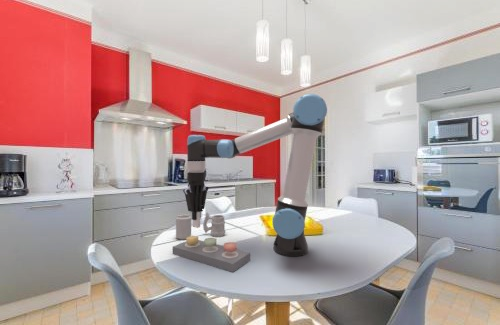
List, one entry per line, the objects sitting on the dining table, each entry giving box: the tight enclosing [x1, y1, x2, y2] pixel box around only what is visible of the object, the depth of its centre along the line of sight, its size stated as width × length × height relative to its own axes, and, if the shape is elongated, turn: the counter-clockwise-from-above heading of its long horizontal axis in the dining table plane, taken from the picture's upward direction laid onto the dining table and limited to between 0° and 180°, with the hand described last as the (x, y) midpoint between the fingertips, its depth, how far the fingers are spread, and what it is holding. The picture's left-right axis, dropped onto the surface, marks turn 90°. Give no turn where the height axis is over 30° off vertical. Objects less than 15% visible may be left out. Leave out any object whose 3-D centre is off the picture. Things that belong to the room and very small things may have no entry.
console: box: [172, 239, 251, 273], centre depth 97 cm, size 31×12×3 cm, turn 59°
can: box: [175, 212, 192, 241], centre depth 120 cm, size 8×8×12 cm
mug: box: [202, 211, 226, 238], centre depth 125 cm, size 8×12×12 cm, turn 91°
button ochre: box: [185, 235, 199, 245], centre depth 102 cm, size 5×5×2 cm
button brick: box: [223, 241, 238, 252], centre depth 92 cm, size 5×5×2 cm
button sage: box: [203, 237, 218, 247], centre depth 97 cm, size 5×5×2 cm
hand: (196, 226), depth 101 cm, fingers closed
